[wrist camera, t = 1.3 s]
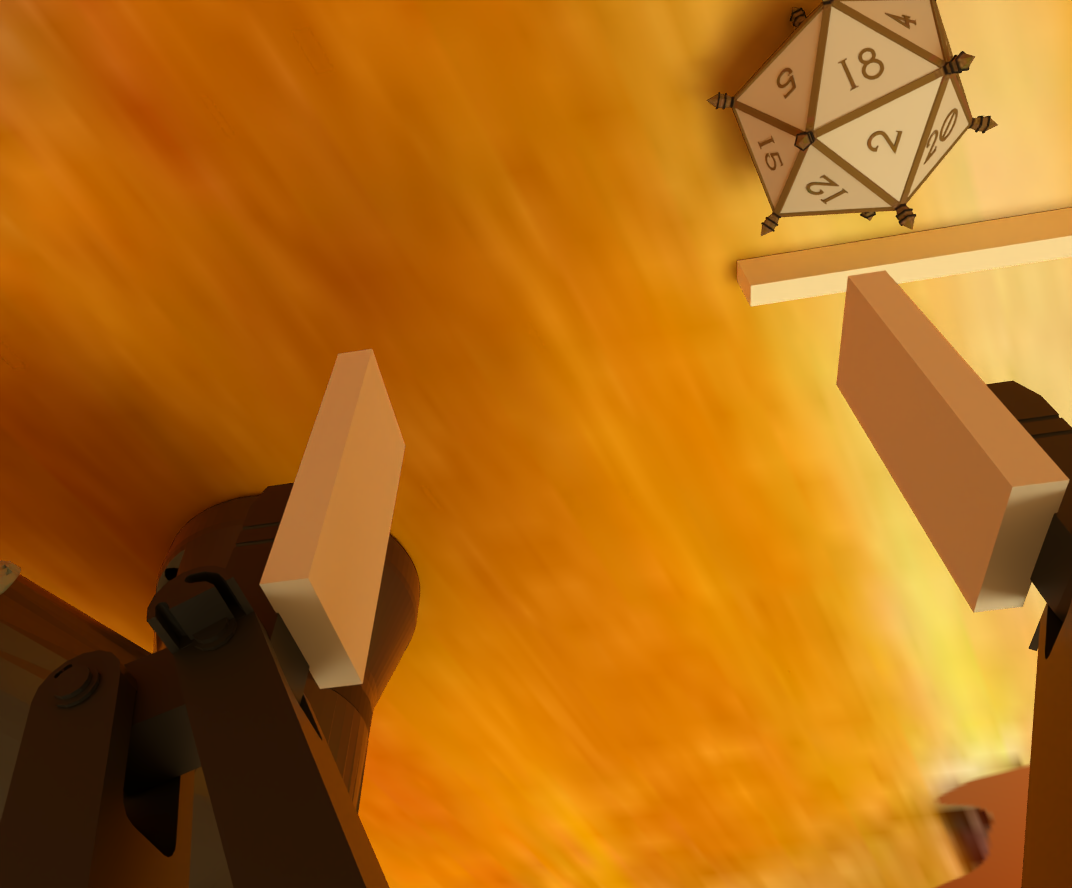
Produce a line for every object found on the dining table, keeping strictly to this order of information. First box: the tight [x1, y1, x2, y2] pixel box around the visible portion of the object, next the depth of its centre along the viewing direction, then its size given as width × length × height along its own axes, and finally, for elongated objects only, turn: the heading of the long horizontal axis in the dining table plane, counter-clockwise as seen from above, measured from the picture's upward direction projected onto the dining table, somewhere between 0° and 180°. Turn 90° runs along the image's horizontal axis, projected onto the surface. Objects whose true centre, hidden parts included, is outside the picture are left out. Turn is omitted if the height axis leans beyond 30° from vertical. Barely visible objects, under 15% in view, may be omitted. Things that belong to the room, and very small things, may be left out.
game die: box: [707, 0, 997, 236], centre depth 27 cm, size 9×8×10 cm
